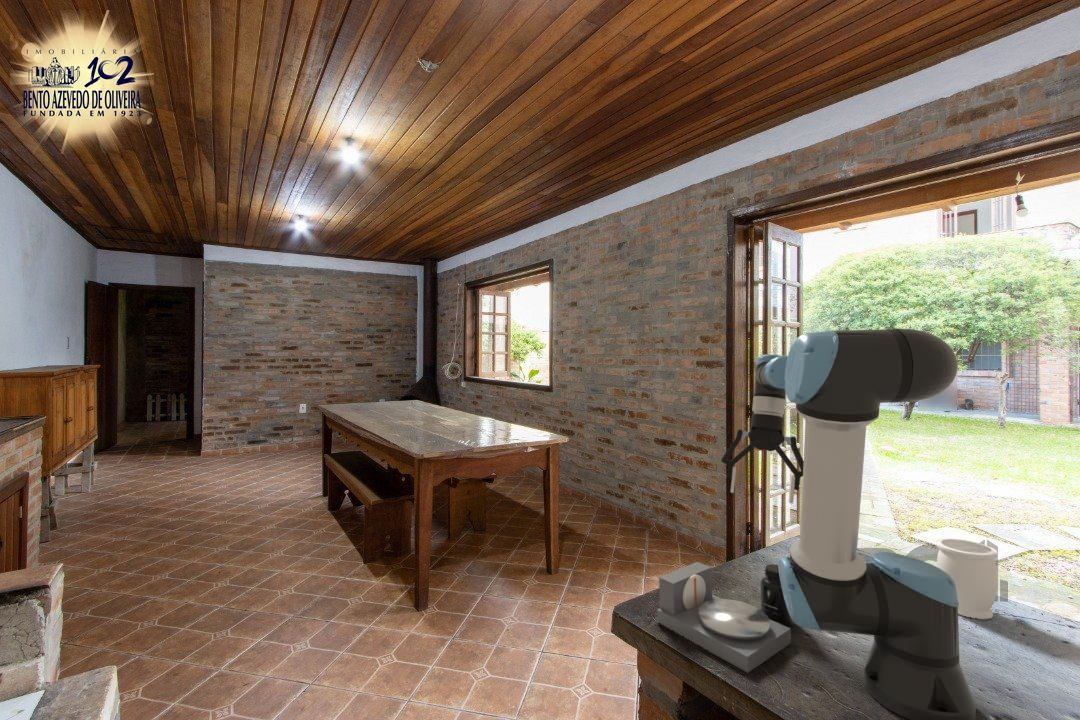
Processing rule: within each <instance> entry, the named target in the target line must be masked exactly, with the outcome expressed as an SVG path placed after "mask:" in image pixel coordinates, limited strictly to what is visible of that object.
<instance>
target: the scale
mask: <svg viewBox="0 0 1080 720" xmlns="http://www.w3.org/2000/svg"><path fill="white" fill-rule="evenodd" d="M712 573H713V571H712V566H709V565H707V564H704V563H701V562H699V561H696V562H693V563H691V564H689V565H686V566H683V567H681V568H679V569H676V570H674V571H671V572H668V573H667V574H664V575H661V576H659V577H658V578H659V580H658V586H659V587H658V588H659V589H658V590H659V607H658V608H657V609H656V617H657V619H656V621H658V622H659V623H661V624H663V625H664V626H666V627H668V628H670V629H672V630H674V631H675V632H677V633H678V634H680V635H682V636H684V637H685V638H684V637H683V638H684V639H686V638H687V639H686V640H688V639H689V640H690V641H689V640H688V641H689V642H691V641H692V642H691V643H693V642H694V643H693V644H695V645H697V646H698V645H699V647H700V646H701V648H702V647H703V648H702V649H704V650H706V651H707V650H708V652H709V653H711V654H713V655H715V656H717V657H719V658H721V659H722V660H724V661H726V662H727V663H730V664H731V665H732V666H735V667H737V668H738V669H740V670H742V671H744V672H745V673H747V674H748V673H750V672H751V671H753V670H754V669H757V667H758V666H760V665H761V664H764V662H766V661H767V660H769V659H770V658H772V657H773V656H775V655H776V654H777V653H779V652H780V651H782V650H784V649H785V648H786V647H787V646H789V645H790V644H792V631H791V628H792V627H791V628H788V627H786V626H784V625H781V624H779V623H777V622H774V621H772V620H770V619H769V621H770V631H769V633H768V634H767V635H765V636H764V637H761V638H758V639H752V640H740V639H733V638H729V637H725V636H722V635H719V634H717V633H715V632H713V631H711V630H709V629H708V628H706V627H705V626H704V625H703V624H702V623H701V621H700V619H699V607H700V606H701V605H702V604H703V603H704V602H707V601H710V600H715V599H723V598H721V597H719V596H717V595H715V594H713V575H712ZM659 623H658V624H659ZM664 626H663V627H664ZM666 627H665V628H666ZM668 628H667V629H668ZM675 632H674V633H675ZM677 633H676V634H677ZM678 634H677V635H678ZM680 635H679V636H680ZM682 636H681V637H682Z"/></svg>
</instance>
